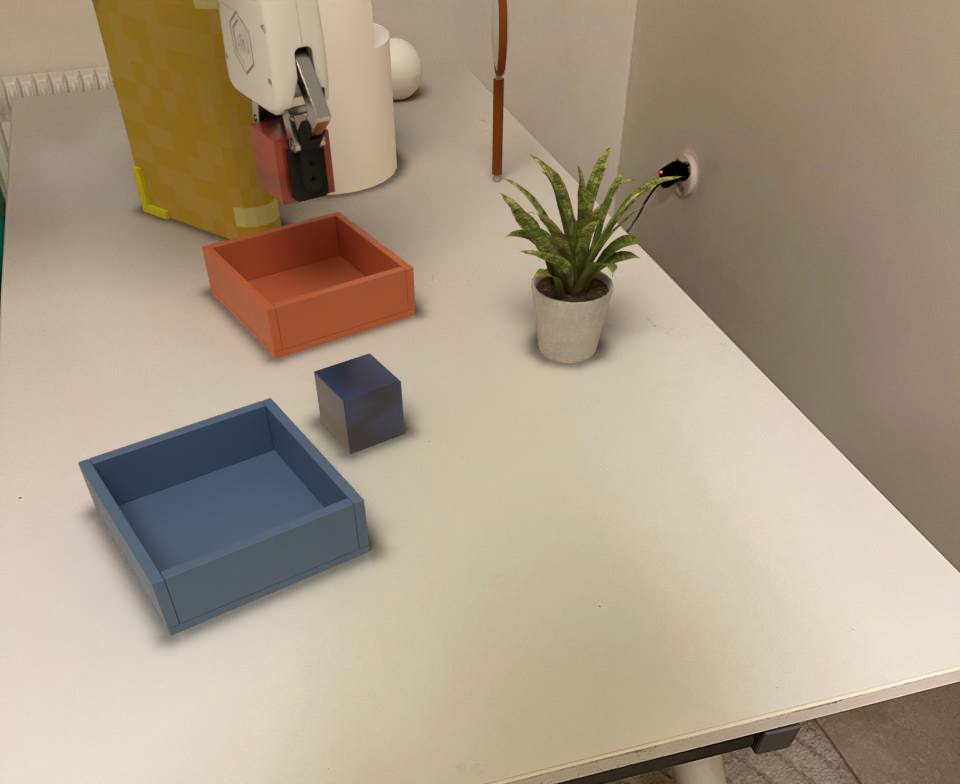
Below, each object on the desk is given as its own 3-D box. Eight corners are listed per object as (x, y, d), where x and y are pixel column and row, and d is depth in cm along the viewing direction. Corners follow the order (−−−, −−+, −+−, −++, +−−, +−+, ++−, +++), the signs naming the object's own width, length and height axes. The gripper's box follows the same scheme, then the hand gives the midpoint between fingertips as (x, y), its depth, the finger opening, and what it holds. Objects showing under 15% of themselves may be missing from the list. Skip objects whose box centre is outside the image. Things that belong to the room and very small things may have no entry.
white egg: (423, 90, 130) (421, 30, 125) (422, 107, 125) (420, 46, 120) (354, 90, 130) (349, 30, 124) (350, 108, 125) (345, 46, 119)
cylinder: (339, 208, 102) (305, -109, 82) (225, 176, 108) (166, -127, 88) (424, 160, 112) (413, -134, 92) (315, 133, 118) (282, -148, 98)
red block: (283, 205, 77) (273, 141, 73) (259, 185, 80) (248, 123, 76) (335, 191, 79) (328, 129, 75) (310, 173, 81) (301, 112, 78)
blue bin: (171, 638, 58) (151, 584, 54) (98, 515, 66) (77, 461, 62) (370, 553, 63) (364, 499, 60) (280, 449, 71) (270, 397, 68)
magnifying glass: (506, 197, 105) (512, -11, 90) (492, 197, 105) (495, -10, 90) (501, 168, 111) (505, -31, 96) (487, 168, 110) (489, -31, 96)
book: (143, 212, 101) (70, -66, 83) (188, 193, 105) (127, -78, 87) (252, 251, 95) (199, -41, 76) (296, 229, 99) (255, -55, 80)
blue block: (350, 456, 71) (343, 401, 67) (321, 425, 74) (313, 371, 70) (405, 435, 73) (401, 381, 69) (374, 406, 76) (369, 352, 72)
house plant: (628, 301, 88) (652, 117, 76) (678, 376, 79) (715, 180, 67) (486, 316, 86) (487, 129, 74) (521, 394, 77) (529, 196, 65)
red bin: (276, 360, 80) (266, 310, 77) (212, 295, 88) (201, 246, 85) (416, 316, 86) (413, 267, 82) (343, 258, 94) (338, 211, 90)
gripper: (166, -89, 69) (218, 164, 82) (260, -47, 59) (301, 231, 73) (257, -99, 72) (292, 147, 85) (360, -61, 62) (381, 210, 76)
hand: (296, 183), depth 79 cm, fingers closed on red block, 5 cm apart
